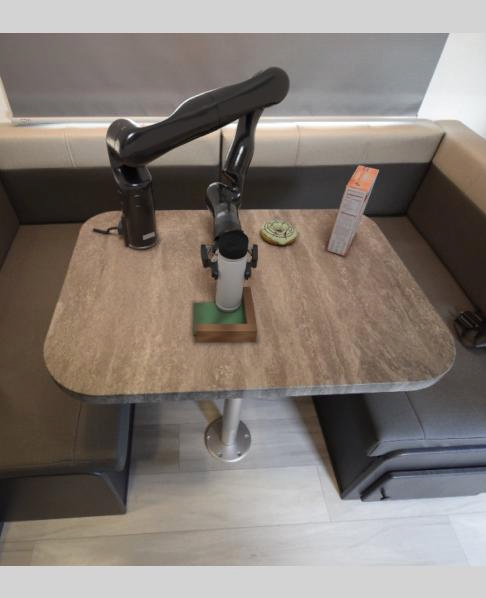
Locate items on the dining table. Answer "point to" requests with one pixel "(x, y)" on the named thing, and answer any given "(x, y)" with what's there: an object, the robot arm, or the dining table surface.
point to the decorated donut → (278, 232)
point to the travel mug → (231, 270)
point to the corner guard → (226, 322)
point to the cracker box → (351, 209)
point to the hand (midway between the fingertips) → (231, 277)
